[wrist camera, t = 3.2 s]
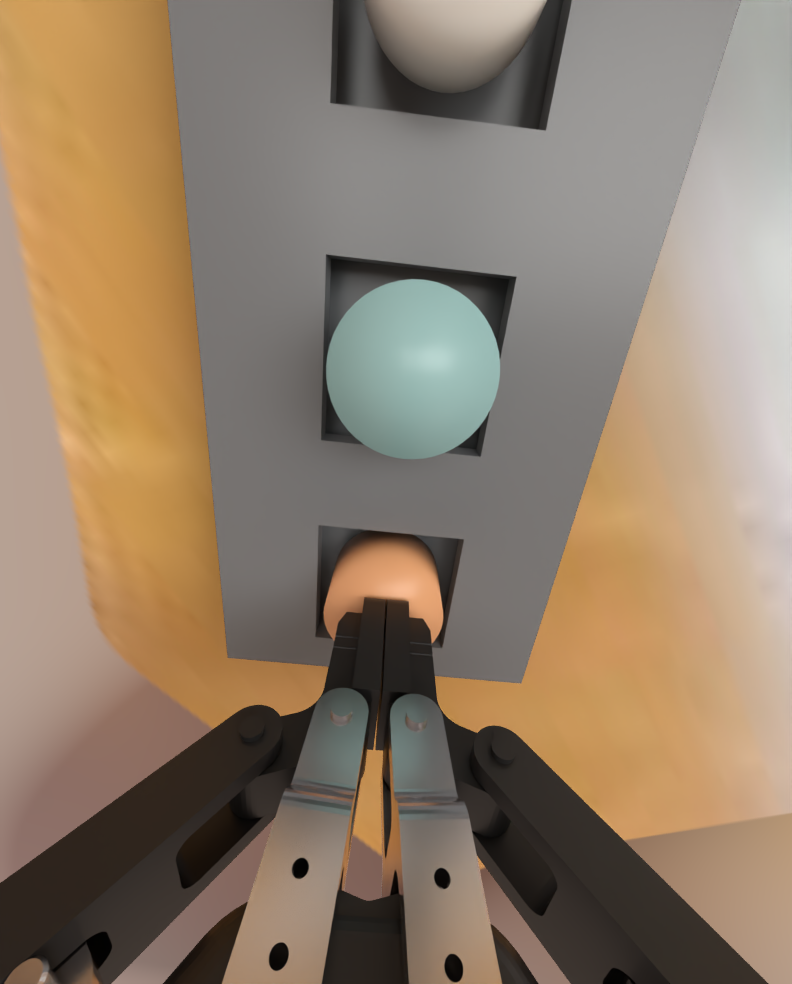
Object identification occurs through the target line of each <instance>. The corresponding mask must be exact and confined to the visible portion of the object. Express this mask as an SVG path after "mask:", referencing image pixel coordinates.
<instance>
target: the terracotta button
mask: <svg viewBox="0 0 792 984" xmlns="http://www.w3.org/2000/svg"><path fill="white" fill-rule="evenodd" d="M364 597H366V598H377V599H386V602H385V614H386V606H387V599H389V600H400V601H409V617H411V618H422V619H424V621H425V622H426V624H427V626H428V627H429V629H430V630H431V641H432V643H433V642H434V641H435V639H436V638H437V636H438V635H439V632H440V630H441V627H442V624H443V608H442V601H441V594H440V586H439V579H438V572H437V565H436V561H435V558H434V555H433V554H432V552H431V550H430V549H429V547H428V546H427V545H426V544H425V543H424V542H423V541H422V540H421V539H419V538H418V537H416V536H415V535H413V534H404V533H393V532H383V531H373V530H368V531H364V532H362V533H360V534H358V535H356V536H355V537H353V538H352V539H351V540H349V541H348V542H347V543H346V544H345V545H344V547H343V548H342V550H341V551H340V553H339V555H338V558H337V561H336V565H335V569H334V572H333V576H332V580H331V583H330V587H329V591H328V595H327V598H326V602H325V606H324V622H325V626H326V628H327V631H328V632H329V634H330V636H331V637H332V639H333V640H335V635H336V630H337V626H338V622H339V621H340V619H341V618H342V617H343V616H344V615H345V613H346V612H355V613H362V611H363V604H364ZM384 623H385V619H384Z"/></svg>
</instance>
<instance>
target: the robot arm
mask: <svg viewBox="0 0 792 984" xmlns="http://www.w3.org/2000/svg"><path fill="white" fill-rule="evenodd" d="M385 602H386V599H377V598H366V597H364V604H363V611H362V613H355V612H346V613H345V615H344V616H343V617H342V618H341V619H340V621H339V622H338V626H337V630H336V635H335V640H334V645H333V649H332V654H331V659H330V664H329V669H328V673H327V678H326V683H325V688H324V691H323V693H322V695H321V697H320V698H319V700H318V701H317V702H316V703H315V704H314V705H312V706H311V707H309V708H308V709H306V710H304V711H301V712H298V713H294V714H290V715H285V716H281V717H280V715H279V714H278V713H277V712H276V711H275V710H274V709H273V708H271V707H268V706H264V705H254V706H249V707H246V708H244V709H242V710H240V711H238V712H237V713H235V714H234V715H232V716H231V717H230V718H228V719H227V720H225V721H224V722H223V723H221V724H220V725H219V726H217V727H216V728H214V729H213V730H212V731H210V732H209V733H207V734H206V735H205V736H203V737H202V738H201V739H199V740H198V741H196V742H195V743H194V744H192V745H191V746H190V747H188V748H187V749H185V750H184V751H183V752H181V753H180V754H179V755H177V756H176V757H175V758H173V759H172V760H170V761H169V762H167V763H166V764H165V765H163V766H162V767H160V768H159V769H158V770H156V771H155V772H153V773H152V774H151V775H149V776H148V777H147V778H145V779H144V780H143V781H141V782H140V783H138V784H137V785H135V786H134V787H133V788H131V789H130V790H129V791H127V792H126V793H124V794H123V795H122V796H120V797H119V798H118V799H116V800H115V801H113V802H112V803H111V804H109V805H108V806H106V807H105V808H104V809H102V810H101V811H99V812H98V813H97V814H95V815H94V816H93V817H91V818H90V819H89V820H87V821H86V822H84V823H83V824H81V825H80V826H79V827H77V828H76V829H75V830H73V831H72V832H70V833H69V834H68V835H66V836H65V837H63V838H62V839H61V840H59V841H58V842H57V843H55V844H54V845H53V846H51V847H50V848H48V849H47V850H46V851H44V852H43V853H41V854H40V855H39V856H37V857H36V858H34V859H33V860H32V861H30V862H29V863H28V864H26V865H25V866H24V867H22V868H21V869H19V870H18V871H17V872H15V873H14V874H12V875H11V876H9V877H8V878H7V879H5V880H4V881H3V882H1V883H0V984H111V983H112V982H113V981H114V980H115V979H116V978H117V977H118V976H119V975H120V974H121V973H122V972H123V971H124V970H125V969H126V968H127V967H128V966H129V965H130V964H131V963H132V962H133V961H134V960H135V959H136V958H137V957H138V956H139V955H140V954H141V953H142V952H143V951H144V950H145V949H146V948H147V947H148V946H149V945H150V944H151V943H152V942H153V941H154V940H155V939H156V938H157V937H158V936H159V935H160V934H161V933H162V932H163V930H165V929H166V928H167V926H169V924H170V923H171V922H172V921H173V920H174V919H175V918H176V917H177V916H178V915H179V914H180V913H181V912H182V911H183V910H184V909H185V908H186V907H187V906H188V905H189V904H190V903H191V902H192V901H193V900H194V899H195V898H196V897H197V896H198V895H199V894H200V893H201V892H202V891H203V890H204V889H205V888H206V887H207V886H208V885H209V884H210V883H211V882H212V881H213V880H214V879H215V878H216V877H217V876H218V875H219V874H220V873H221V872H222V871H223V870H224V869H225V868H226V867H227V866H228V865H229V864H230V863H231V862H232V861H233V859H235V858H236V857H237V855H239V853H241V852H242V851H243V849H245V847H246V846H247V845H248V844H249V843H250V842H251V841H252V840H253V839H254V838H255V837H256V836H257V835H258V834H259V833H260V832H261V831H262V830H263V829H264V828H265V827H266V826H267V825H268V824H269V823H270V822H271V821H272V820H273V819H274V818H275V819H274V823H273V826H272V829H271V832H270V835H269V838H268V841H267V844H266V848H265V851H264V854H263V857H262V860H261V863H260V866H259V870H258V873H257V876H256V879H255V882H254V885H253V888H252V891H251V894H250V897H249V901H248V902H246V903H245V904H243V905H241V906H240V907H238V908H236V909H235V910H233V911H232V912H230V913H229V914H228V915H227V916H225V917H224V918H223V919H221V920H220V921H219V922H218V923H217V924H216V925H215V926H214V927H213V928H212V929H211V930H210V931H209V932H208V933H207V934H206V935H205V936H204V937H203V938H202V939H201V940H200V941H199V943H198V944H197V945H196V946H195V947H194V949H193V950H192V951H191V952H190V953H189V954H188V955H187V957H186V958H185V959H184V960H183V961H182V962H181V963H180V965H179V966H178V967H177V968H176V969H175V970H174V972H173V973H172V974H171V975H170V976H169V977H168V979H167V980H166V981H165V982H164V983H163V984H538V982H537V981H536V979H535V978H534V976H533V975H532V973H531V972H530V970H529V969H528V967H527V966H526V964H525V962H524V961H523V960H522V958H521V957H520V955H519V954H518V952H517V951H516V950H515V948H514V947H513V946H512V945H511V944H510V943H509V941H508V940H507V939H506V938H505V937H504V936H503V935H502V934H501V933H500V932H499V931H498V930H497V929H496V928H495V927H494V926H493V925H491V924H490V920H489V915H488V910H487V905H486V900H485V895H484V890H483V885H482V880H481V875H480V869H479V864H478V859H477V856H478V857H479V859H480V860H481V861H482V863H483V864H484V866H485V867H486V868H487V870H488V871H489V872H490V874H491V875H492V876H493V878H494V879H495V881H496V882H497V883H498V885H499V886H500V887H501V889H502V890H503V892H504V893H505V894H506V896H507V897H508V898H509V900H510V901H511V902H512V904H513V905H514V907H515V908H516V909H517V911H518V912H519V913H520V915H521V916H522V917H523V919H524V920H525V922H526V923H527V924H528V926H529V927H530V928H531V930H532V931H533V933H534V934H535V935H536V937H537V938H538V939H539V941H540V942H541V943H542V945H543V946H544V948H545V949H546V950H547V952H548V953H549V954H550V956H551V957H552V959H553V960H554V961H555V962H556V964H557V965H558V967H559V968H560V969H561V971H562V972H563V974H564V975H565V976H566V978H567V979H568V980H569V982H570V983H571V984H768V983H767V982H766V981H765V980H764V979H763V978H762V977H761V976H760V975H759V974H758V973H757V972H756V971H755V970H754V969H753V968H752V967H751V966H750V965H749V964H748V963H747V962H746V961H745V960H744V959H743V958H742V957H741V956H740V955H739V954H738V953H737V952H736V951H735V950H734V949H733V948H732V947H731V946H730V945H729V944H728V943H727V942H726V941H725V940H724V939H723V938H722V937H721V936H720V935H719V934H718V933H717V932H716V931H714V929H713V928H712V927H710V925H709V924H708V923H707V922H706V921H705V920H703V918H701V917H700V916H699V915H698V914H697V913H696V912H695V911H694V910H693V909H692V908H691V907H690V906H689V905H688V904H687V903H686V902H685V901H684V900H683V899H682V898H681V897H680V896H679V895H678V894H677V893H676V892H675V891H674V890H673V889H672V888H671V887H670V886H669V885H668V884H667V883H666V882H665V881H664V880H663V879H662V878H661V877H660V876H659V875H658V874H657V873H656V872H655V871H654V870H653V869H652V868H651V867H650V866H649V865H648V864H647V863H646V862H645V861H644V860H643V859H642V858H641V857H640V856H639V855H638V854H637V853H636V852H635V851H634V850H633V849H632V848H631V847H630V846H629V845H628V844H627V843H626V842H625V841H624V840H623V839H622V838H621V837H620V836H619V835H618V834H617V833H616V832H615V831H614V830H613V829H612V828H611V827H610V826H609V825H608V824H607V823H605V822H604V821H603V820H602V819H601V818H600V817H599V816H598V815H597V814H596V813H595V812H594V811H593V810H592V809H591V808H590V807H589V806H588V805H587V804H586V803H585V802H584V801H583V800H582V799H581V798H580V797H579V796H578V795H577V794H576V793H575V792H574V791H573V790H572V789H571V788H570V787H569V786H568V785H567V784H566V783H565V782H564V781H563V780H562V779H561V778H560V777H559V776H558V775H557V774H556V773H555V772H554V771H553V770H552V769H551V768H550V767H549V766H548V765H547V764H546V763H545V762H544V761H543V760H542V759H541V758H540V757H539V756H538V755H537V754H536V753H535V752H534V751H533V750H532V749H531V748H530V747H529V746H528V745H527V744H526V743H525V742H524V741H523V740H522V739H521V738H520V737H518V736H517V735H516V734H515V733H513V732H512V731H510V730H508V729H506V728H504V727H500V726H488V727H485V728H483V729H481V730H480V731H479V732H478V733H476V732H473V731H471V730H468V729H466V728H463V727H461V726H459V725H457V724H455V723H454V722H452V721H451V720H450V719H448V718H447V717H446V716H445V714H444V713H443V712H442V710H441V709H440V707H439V705H438V702H437V696H436V685H435V674H434V663H433V652H432V641H431V630H430V629H429V627H428V626H427V624H426V622H425V621H424V619H422V618H411V617H409V601H400V600H389V599H387V606H386V614H385ZM384 619H385V623H384ZM377 714H378V717H377ZM376 722H377V733H376V750H383V767H382V774H381V819H382V859H383V860H382V861H383V868H382V892H381V898H380V899H376V900H373V901H366V900H363V899H360V898H358V897H356V896H353V895H351V894H349V893H347V892H344V888H345V881H346V874H347V867H348V860H349V854H350V847H351V840H352V835H353V829H354V822H355V816H356V810H357V803H358V797H359V791H360V785H361V778H362V777H363V774H364V771H365V763H366V755H367V749H369V750H373V746H374V738H375V730H376Z"/></svg>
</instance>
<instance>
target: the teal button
mask: <svg viewBox="0 0 792 984" xmlns="http://www.w3.org/2000/svg"><path fill="white" fill-rule="evenodd" d="M499 378H500V358H499V350H498V346H497V342H496V339H495V336H494V334H493V331H492V329H491V327H490V325H489V323H488V322H487V320H486V318H485V317H484V315H483V314H482V313H481V311H480V310H479V309H478V308H477V307H476V306H475V305H474V304H473V303H472V302H471V301H470V300H469V299H468V298H467V297H465V296H464V295H463V294H461V293H460V292H458V291H456V290H454V289H453V288H451V287H449V286H446V285H443V284H441V283H438V282H434V281H428V280H420V279H409V280H399V281H395V282H392V283H388V284H385V285H383V286H380V287H378V288H376V289H374V290H372V291H371V292H369V293H367V294H366V295H364V296H363V297H362V298H361V299H359V300H358V301H357V302H356V303H355V304H354V305H353V306H352V307H351V308H350V309H349V310H348V311H347V312H346V314H345V315H344V317H343V318H342V319H341V321H340V322H339V324H338V326H337V328H336V330H335V332H334V334H333V337H332V340H331V342H330V346H329V350H328V354H327V363H326V380H327V386H328V392H329V395H330V399H331V402H332V404H333V407H334V409H335V411H336V413H337V415H338V417H339V418H340V420H341V422H342V423H343V424H344V426H345V427H346V428H347V429H348V431H349V432H350V433H351V434H352V435H353V436H354V437H355V438H356V439H358V440H359V441H360V442H362V443H363V444H364V445H366V446H367V447H369V448H371V449H372V450H374V451H377V452H379V453H381V454H384V455H387V456H390V457H395V458H401V459H424V458H429V457H433V456H437V455H440V454H443V453H445V452H447V451H449V450H451V449H453V448H455V447H457V446H458V445H460V444H461V443H463V442H464V441H465V440H466V439H468V438H469V437H470V436H471V435H472V434H473V433H474V432H475V431H476V430H477V429H478V428H479V426H480V425H481V424H482V422H483V421H484V420H485V418H486V416H487V415H488V413H489V411H490V409H491V407H492V405H493V402H494V400H495V397H496V393H497V390H498V386H499Z"/></svg>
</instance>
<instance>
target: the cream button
mask: <svg viewBox="0 0 792 984" xmlns="http://www.w3.org/2000/svg"><path fill="white" fill-rule="evenodd" d="M546 2H547V0H364V4H365V9H366V12H367V16H368V19H369V22H370V25H371V27H372V30H373V32H374V35H375V37H376V39H377V41H378V43H379V45H380V47H381V49H382V50H383V52H384V53H385V55H386V56H387V58H388V59H389V60H390V62H391V63H392V64H393V65H394V66H395V67H396V68H397V70H398V71H399V72H400V73H402V74H403V75H404V76H405V77H406V78H408V79H409V80H410V81H412V82H414V83H415V84H417V85H419V86H421V87H423V88H426V89H428V90H431V91H435V92H440V93H459V92H465V91H469V90H472V89H475V88H477V87H479V86H482V85H484V84H486V83H487V82H489V81H490V80H492V79H493V78H495V77H496V76H498V75H499V74H500V73H501V72H502V71H503V70H505V69H506V68H507V67H508V66H509V65H510V64H511V62H512V61H513V60H514V59H515V58H516V57H517V56H518V54H519V53H520V51H521V50H522V48H523V47H524V46H525V44H526V43H527V41H528V39H529V37H530V35H531V33H532V32H533V30H534V28H535V26H536V23H537V21H538V19H539V17H540V15H541V13H542V10H543V8H544V6H545V4H546Z"/></svg>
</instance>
